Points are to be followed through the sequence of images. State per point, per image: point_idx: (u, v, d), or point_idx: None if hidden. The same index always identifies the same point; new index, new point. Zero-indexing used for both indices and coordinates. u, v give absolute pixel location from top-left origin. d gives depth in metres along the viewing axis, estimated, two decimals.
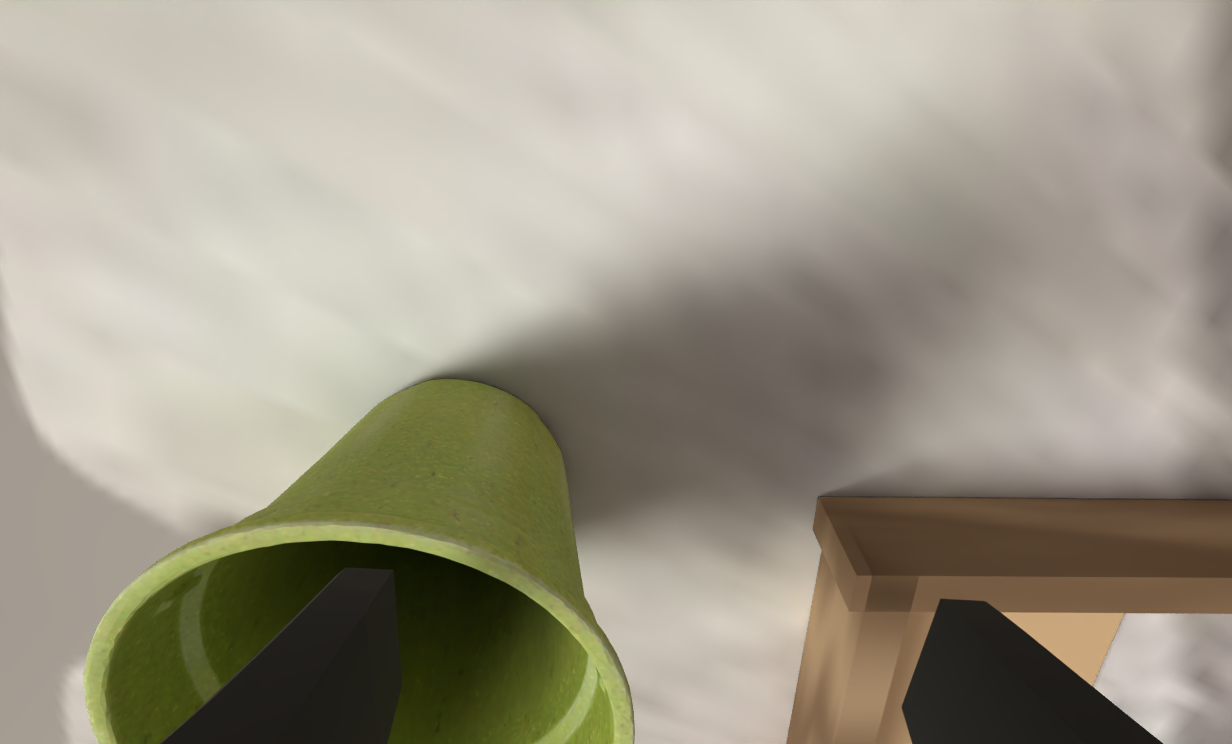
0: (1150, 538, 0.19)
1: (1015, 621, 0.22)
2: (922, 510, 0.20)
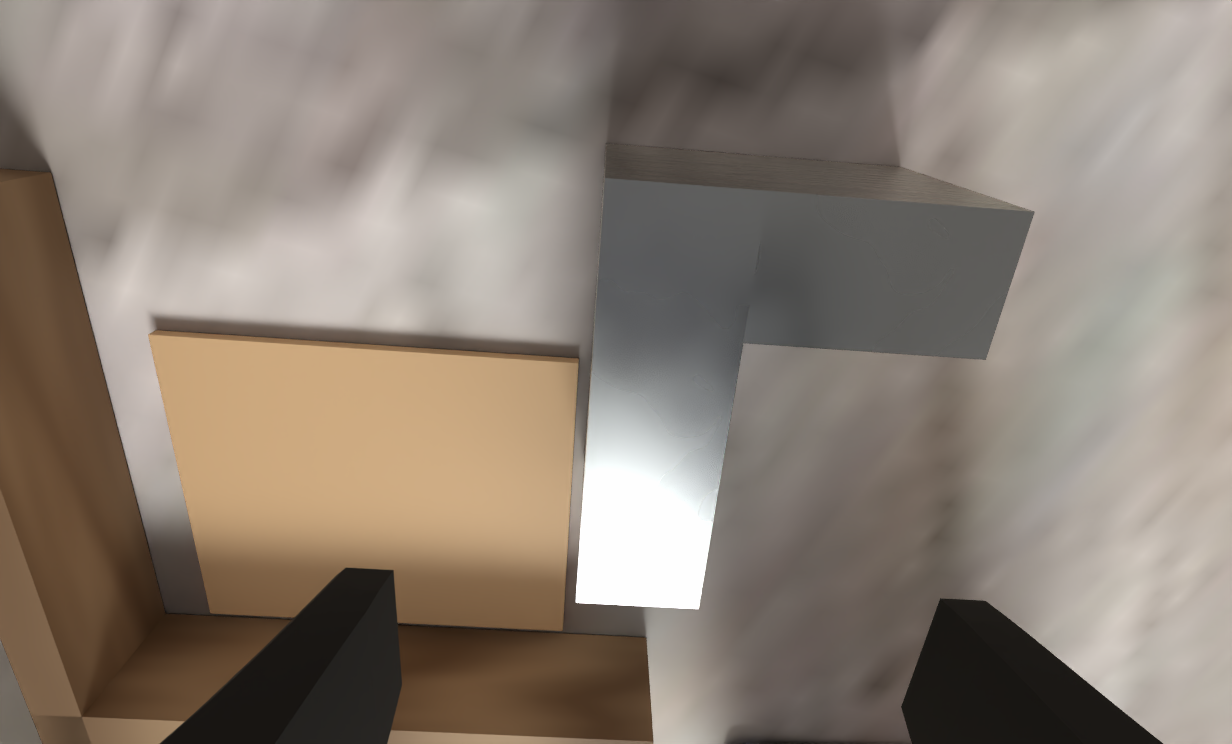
0: None
1: (252, 466, 0.17)
2: None
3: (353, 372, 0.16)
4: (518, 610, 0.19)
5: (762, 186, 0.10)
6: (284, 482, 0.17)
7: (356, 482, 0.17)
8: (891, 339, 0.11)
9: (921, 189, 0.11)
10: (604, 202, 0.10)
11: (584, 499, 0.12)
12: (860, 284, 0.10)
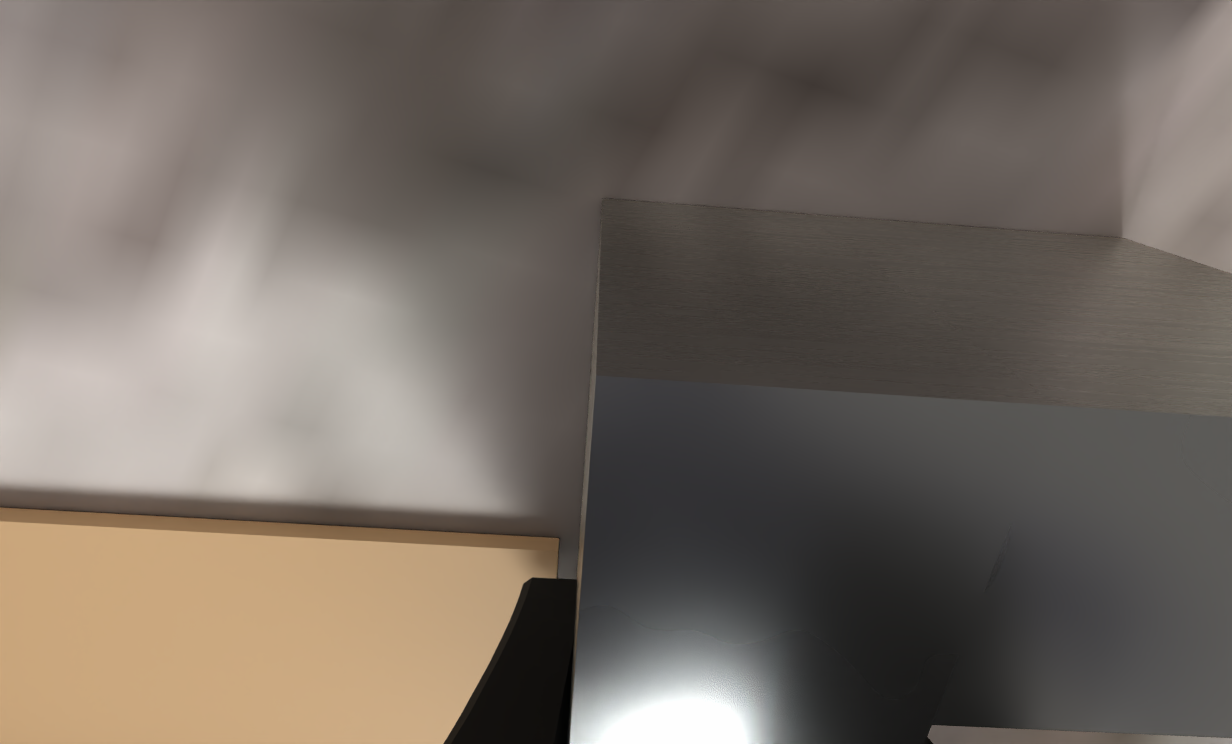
0: None
1: (43, 696, 0.11)
2: None
3: (187, 566, 0.10)
4: None
5: (1011, 372, 0.04)
6: (97, 717, 0.11)
7: (210, 715, 0.11)
8: None
9: None
10: (595, 435, 0.04)
11: None
12: None
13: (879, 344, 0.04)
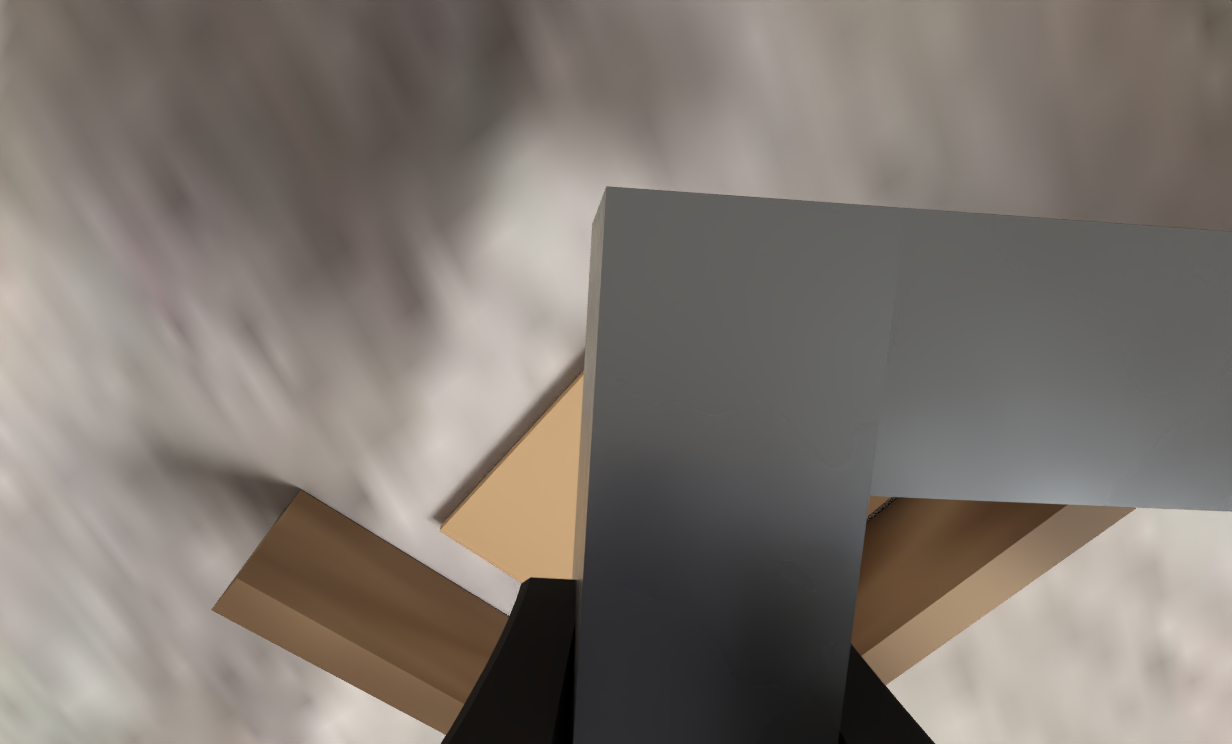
0: None
1: None
2: None
3: (565, 429, 0.17)
4: None
5: None
6: None
7: None
8: (1137, 481, 0.06)
9: None
10: (606, 233, 0.05)
11: None
12: (1076, 380, 0.06)
13: None
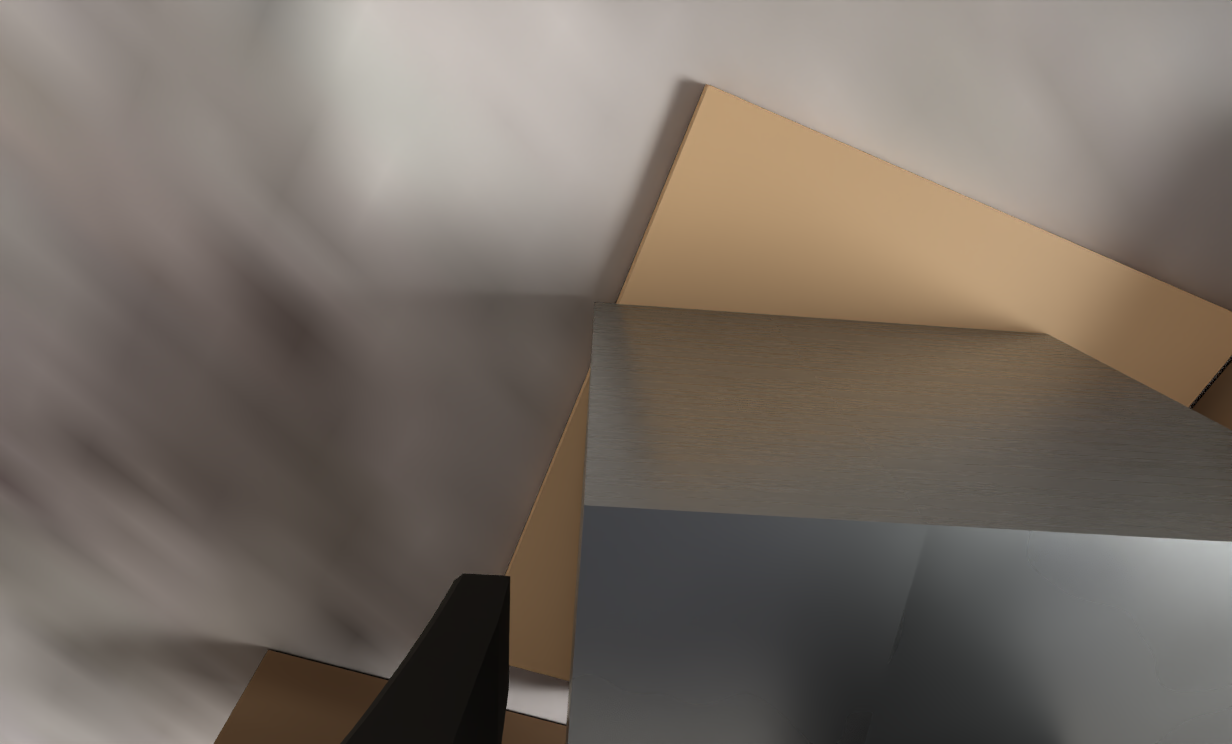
0: None
1: None
2: None
3: None
4: (1157, 384, 0.10)
5: (903, 492, 0.05)
6: None
7: None
8: None
9: (1167, 447, 0.06)
10: (584, 546, 0.05)
11: None
12: (1095, 678, 0.05)
13: (805, 466, 0.05)
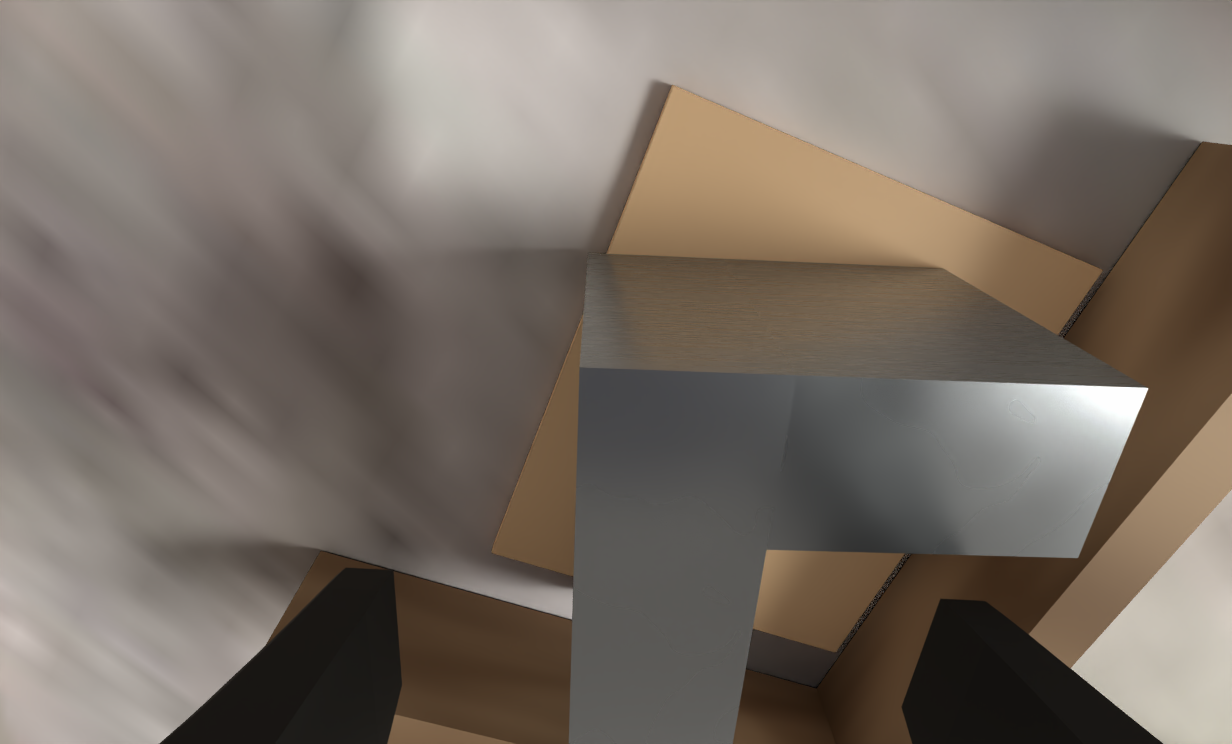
0: None
1: None
2: None
3: None
4: None
5: (787, 360, 0.08)
6: None
7: None
8: (958, 539, 0.08)
9: (986, 335, 0.09)
10: (580, 395, 0.07)
11: (571, 724, 0.10)
12: (917, 480, 0.08)
13: (726, 347, 0.08)
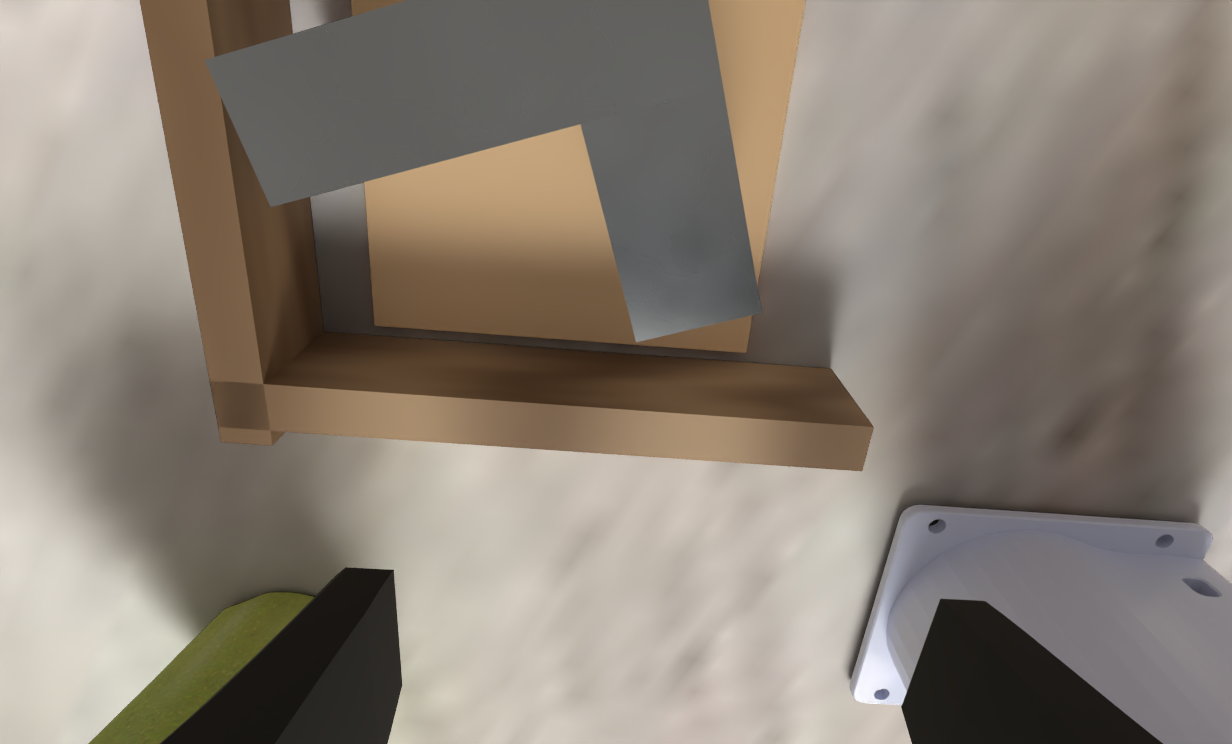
0: None
1: None
2: None
3: None
4: None
5: None
6: (472, 153, 0.16)
7: (548, 153, 0.16)
8: (628, 257, 0.12)
9: None
10: None
11: (344, 21, 0.11)
12: (665, 206, 0.12)
13: None
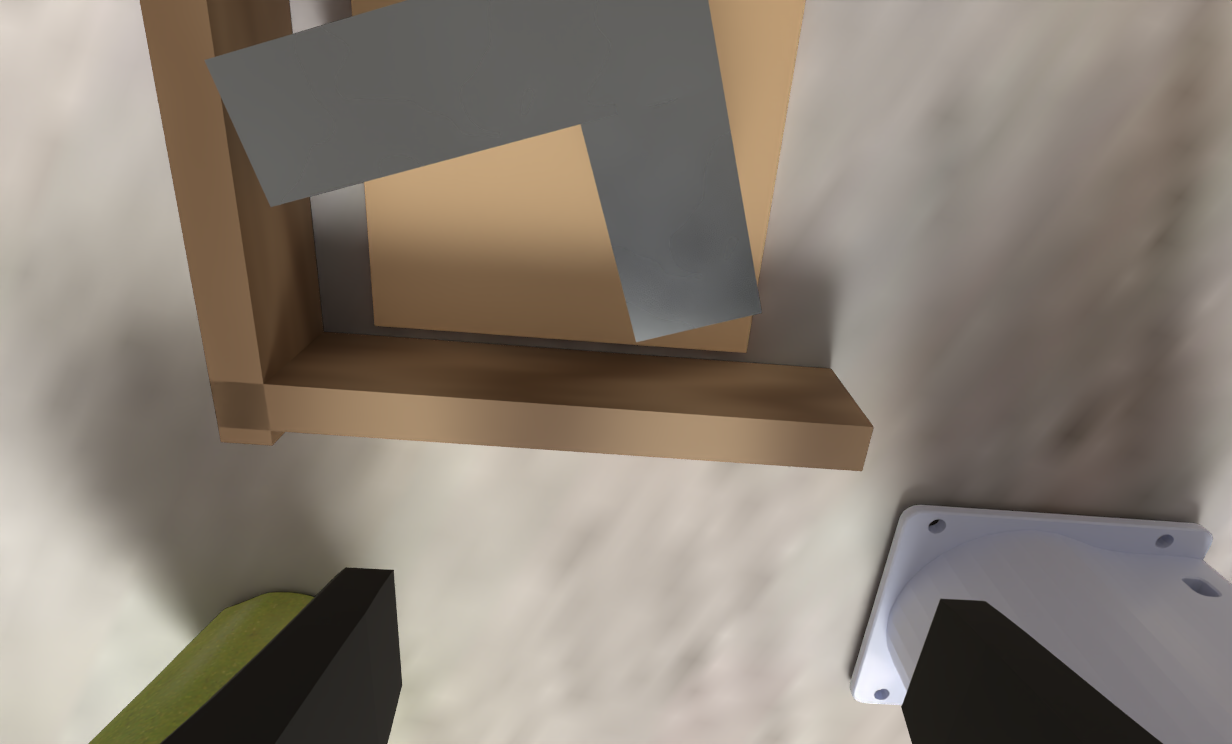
0: None
1: None
2: None
3: None
4: None
5: None
6: (472, 153, 0.16)
7: (548, 153, 0.16)
8: (628, 257, 0.12)
9: None
10: None
11: (344, 21, 0.11)
12: (665, 206, 0.12)
13: None
